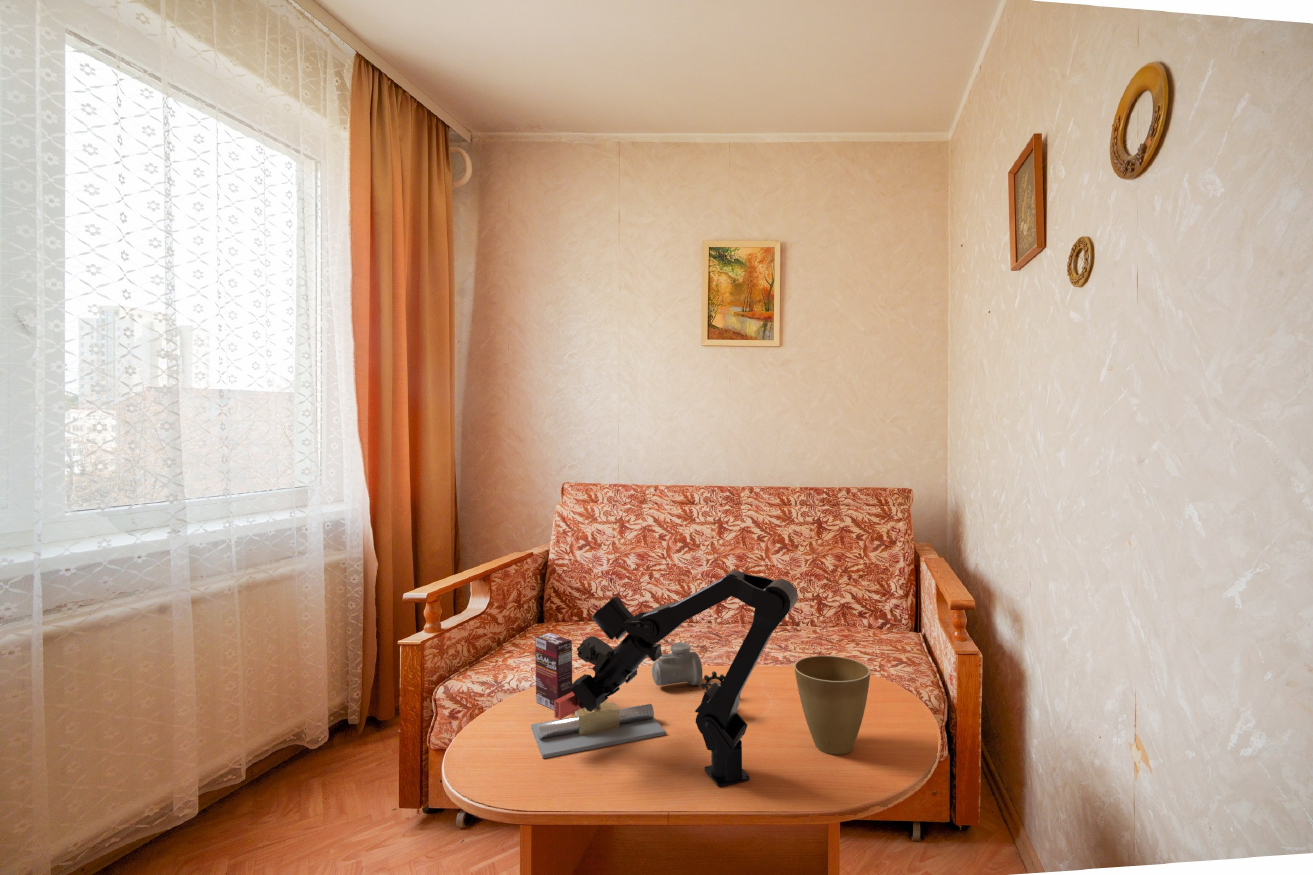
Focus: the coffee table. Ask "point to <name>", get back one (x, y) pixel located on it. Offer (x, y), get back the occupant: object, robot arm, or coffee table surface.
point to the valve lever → (566, 705)
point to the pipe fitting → (678, 666)
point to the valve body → (595, 720)
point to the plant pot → (833, 699)
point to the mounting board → (596, 737)
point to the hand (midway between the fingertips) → (581, 705)
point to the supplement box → (552, 668)
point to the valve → (708, 679)
